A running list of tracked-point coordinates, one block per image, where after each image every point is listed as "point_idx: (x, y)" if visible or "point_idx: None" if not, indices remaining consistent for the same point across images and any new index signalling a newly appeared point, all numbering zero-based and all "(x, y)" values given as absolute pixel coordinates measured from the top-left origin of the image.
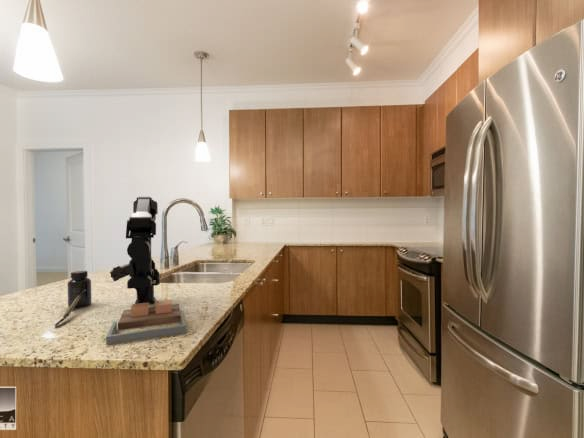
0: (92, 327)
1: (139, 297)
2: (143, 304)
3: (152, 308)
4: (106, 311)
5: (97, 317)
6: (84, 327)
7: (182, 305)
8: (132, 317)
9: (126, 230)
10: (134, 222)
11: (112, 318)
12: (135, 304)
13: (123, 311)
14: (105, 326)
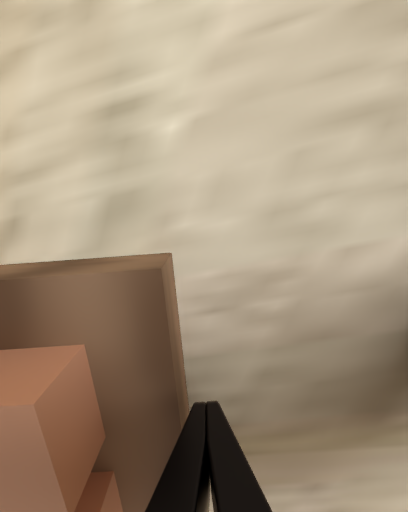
0: (30, 76)
1: (160, 487)
2: (2, 492)
3: (145, 449)
4: (405, 77)
5: (263, 42)
6: (39, 6)
7: (298, 506)
8: None
9: None
10: None
11: (195, 175)
12: (17, 430)
13: (124, 273)
14: (35, 168)
